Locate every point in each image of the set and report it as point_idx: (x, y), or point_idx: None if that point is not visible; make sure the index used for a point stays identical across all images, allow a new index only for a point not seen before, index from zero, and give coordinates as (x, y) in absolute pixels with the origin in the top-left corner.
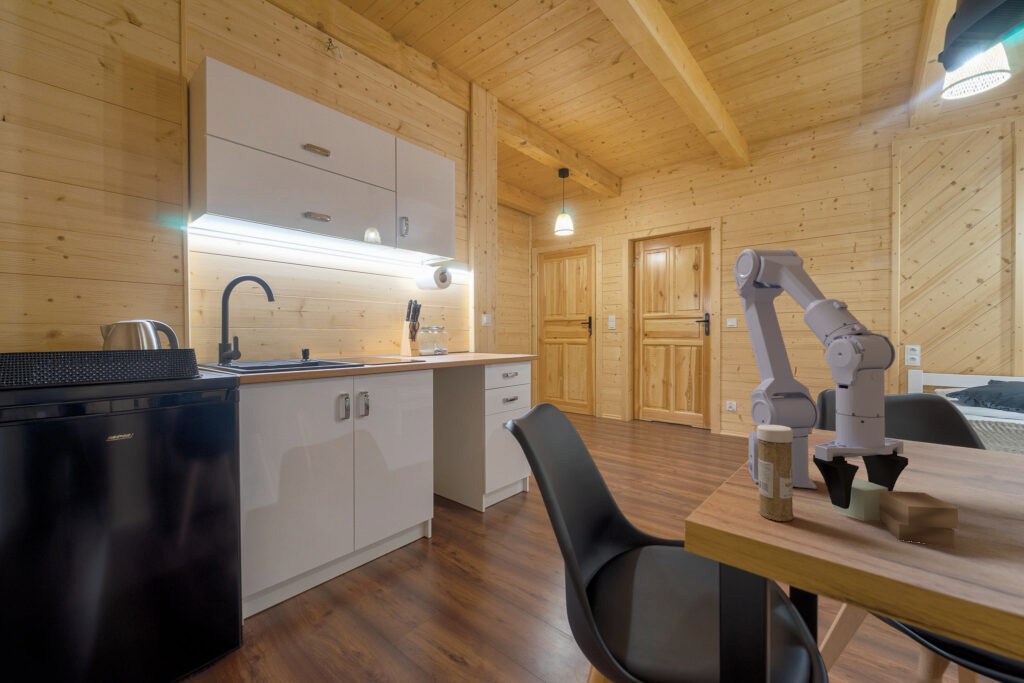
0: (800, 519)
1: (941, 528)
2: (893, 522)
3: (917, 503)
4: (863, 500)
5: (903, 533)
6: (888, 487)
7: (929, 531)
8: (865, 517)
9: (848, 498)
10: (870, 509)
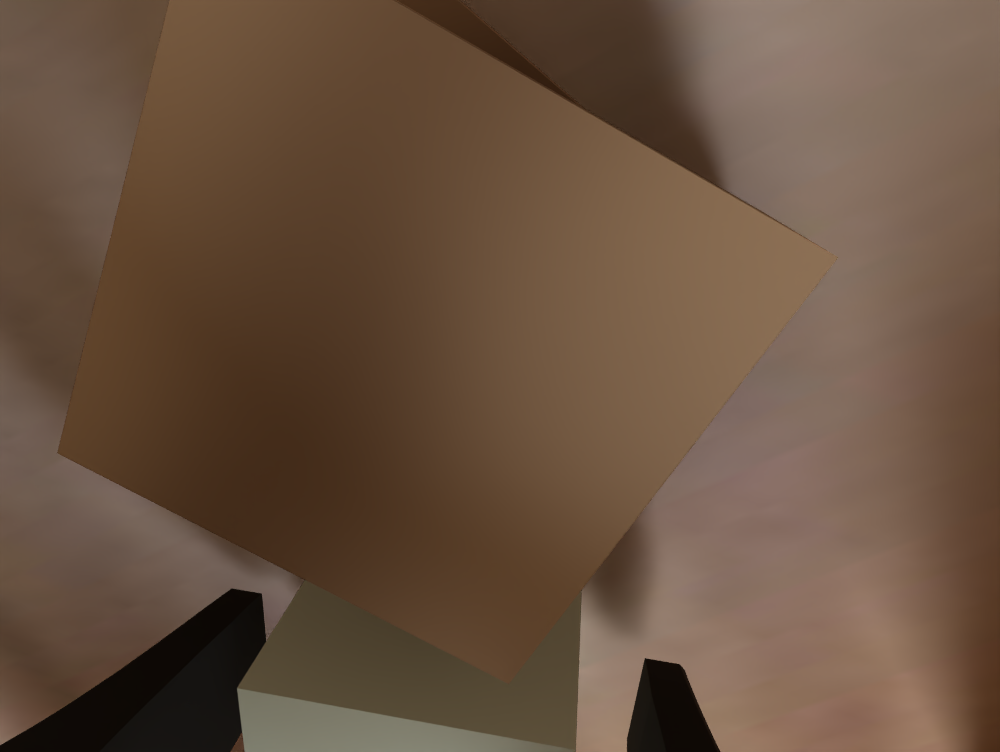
0: (991, 719)
1: (490, 40)
2: None
3: (567, 269)
4: (578, 664)
5: None
6: (166, 693)
7: None
8: None
9: (688, 734)
10: None
